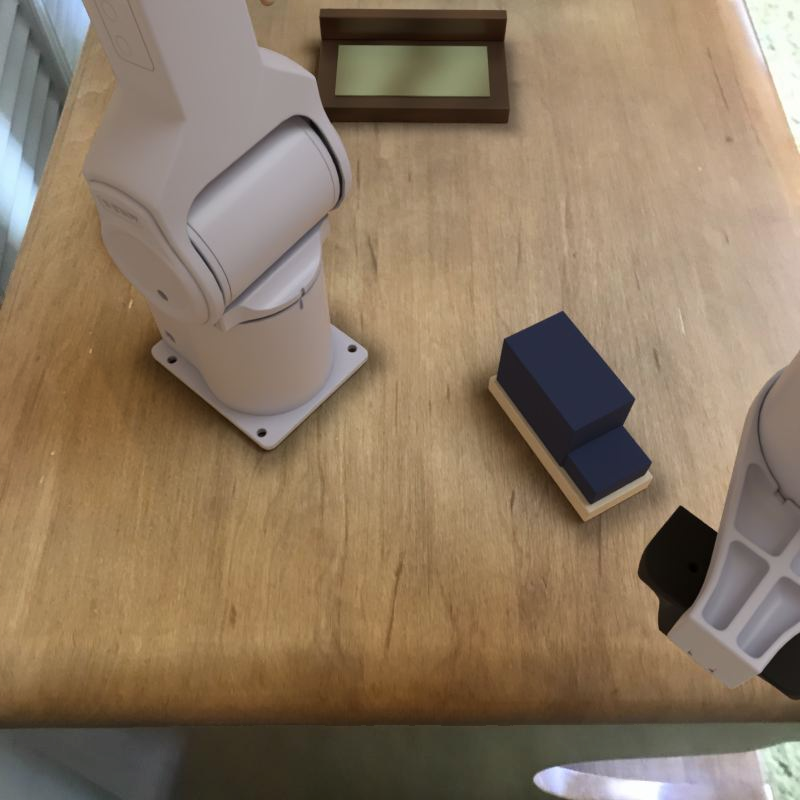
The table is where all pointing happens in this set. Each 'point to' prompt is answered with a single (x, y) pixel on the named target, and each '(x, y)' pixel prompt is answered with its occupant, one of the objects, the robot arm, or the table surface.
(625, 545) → the table surface
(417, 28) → the brown tray with backboard
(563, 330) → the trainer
